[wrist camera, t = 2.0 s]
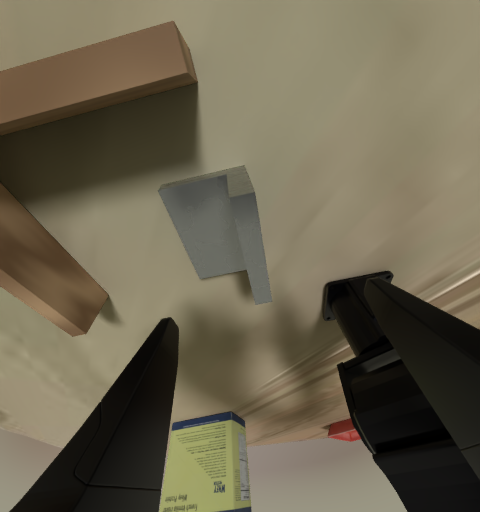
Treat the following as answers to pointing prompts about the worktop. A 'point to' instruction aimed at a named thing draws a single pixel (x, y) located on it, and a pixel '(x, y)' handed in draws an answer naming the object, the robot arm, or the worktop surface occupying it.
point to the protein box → (207, 466)
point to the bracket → (220, 226)
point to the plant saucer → (343, 431)
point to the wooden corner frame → (63, 106)
